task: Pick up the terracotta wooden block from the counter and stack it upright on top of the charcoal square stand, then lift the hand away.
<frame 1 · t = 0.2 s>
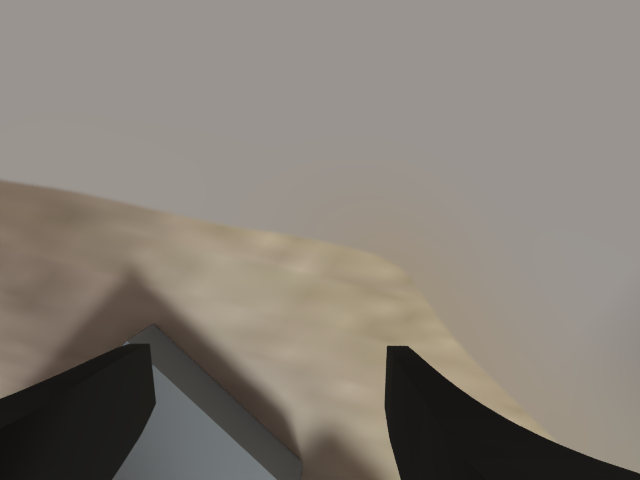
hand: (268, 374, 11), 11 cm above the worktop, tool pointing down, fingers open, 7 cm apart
charcoal stand: (159, 463, 23), on the worktop
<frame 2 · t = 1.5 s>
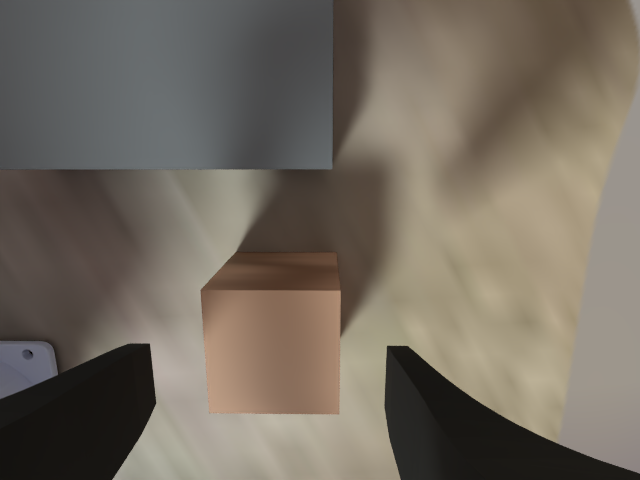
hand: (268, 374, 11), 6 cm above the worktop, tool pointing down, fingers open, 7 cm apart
charcoal stand: (178, 11, 15), on the worktop
terracotta block: (287, 299, 18), on the worktop
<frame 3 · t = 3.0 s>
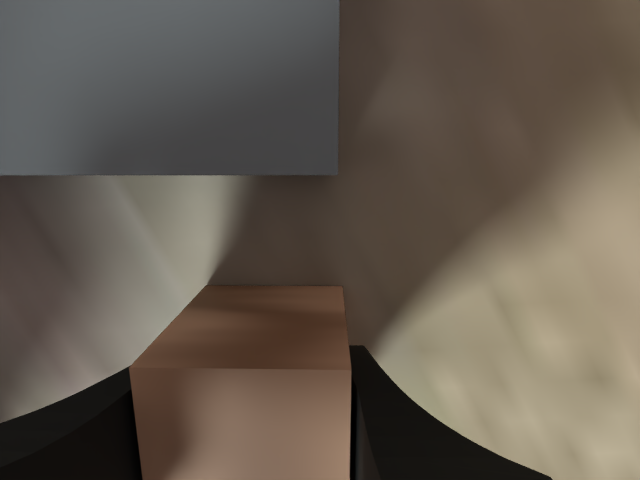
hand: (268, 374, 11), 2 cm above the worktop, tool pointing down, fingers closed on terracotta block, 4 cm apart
terracotta block: (275, 348, 13), on the worktop, touching gripper
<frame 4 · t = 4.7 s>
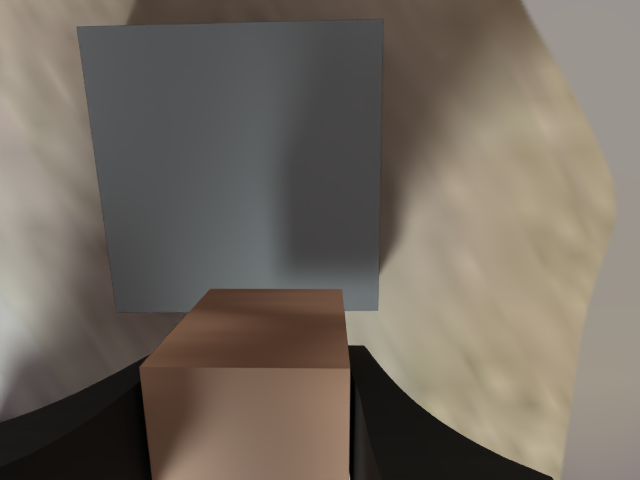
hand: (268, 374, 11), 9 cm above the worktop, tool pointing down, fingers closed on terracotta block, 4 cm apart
charcoal stand: (251, 175, 19), on the worktop
terracotta block: (277, 349, 13), point 7 cm above the worktop, touching gripper
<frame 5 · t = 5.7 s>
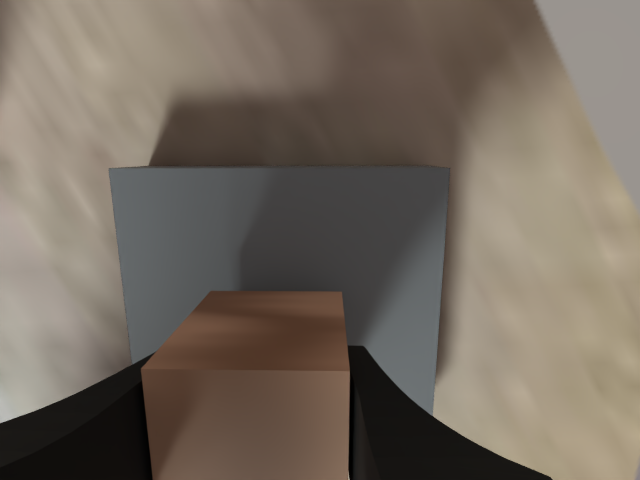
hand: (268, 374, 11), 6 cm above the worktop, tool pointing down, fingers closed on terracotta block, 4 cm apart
charcoal stand: (289, 298, 18), on the worktop
terracotta block: (277, 351, 14), point 4 cm above the worktop, touching gripper
when the fingers open (6 cm above the worktop, at t = 6.6 s): terracotta block drops 1 cm, resting on charcoal stand.
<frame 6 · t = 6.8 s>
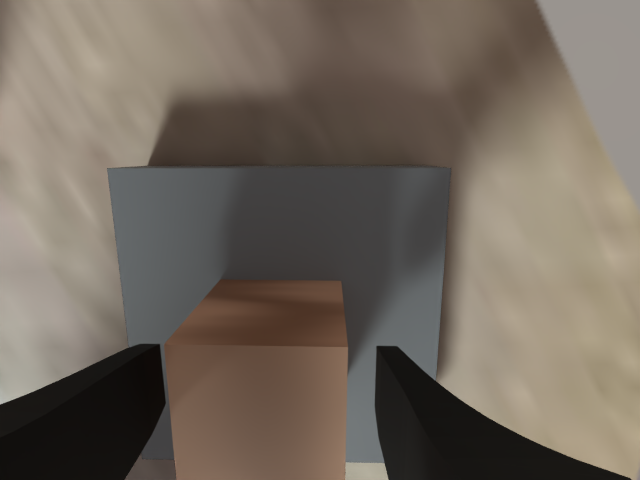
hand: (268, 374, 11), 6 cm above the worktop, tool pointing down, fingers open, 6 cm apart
charcoal stand: (289, 298, 18), on the worktop
terracotta block: (281, 335, 15), point 3 cm above the worktop, touching charcoal stand
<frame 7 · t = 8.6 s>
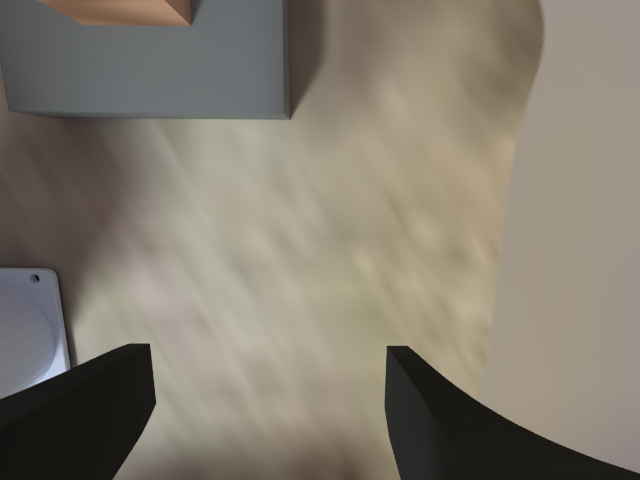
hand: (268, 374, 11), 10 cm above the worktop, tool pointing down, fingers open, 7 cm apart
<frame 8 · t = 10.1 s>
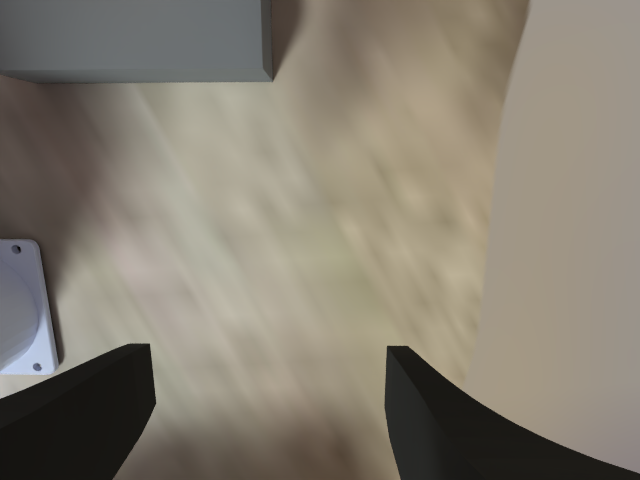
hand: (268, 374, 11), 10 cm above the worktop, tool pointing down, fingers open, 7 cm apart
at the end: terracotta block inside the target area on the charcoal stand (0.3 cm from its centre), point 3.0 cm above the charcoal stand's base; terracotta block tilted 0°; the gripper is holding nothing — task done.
